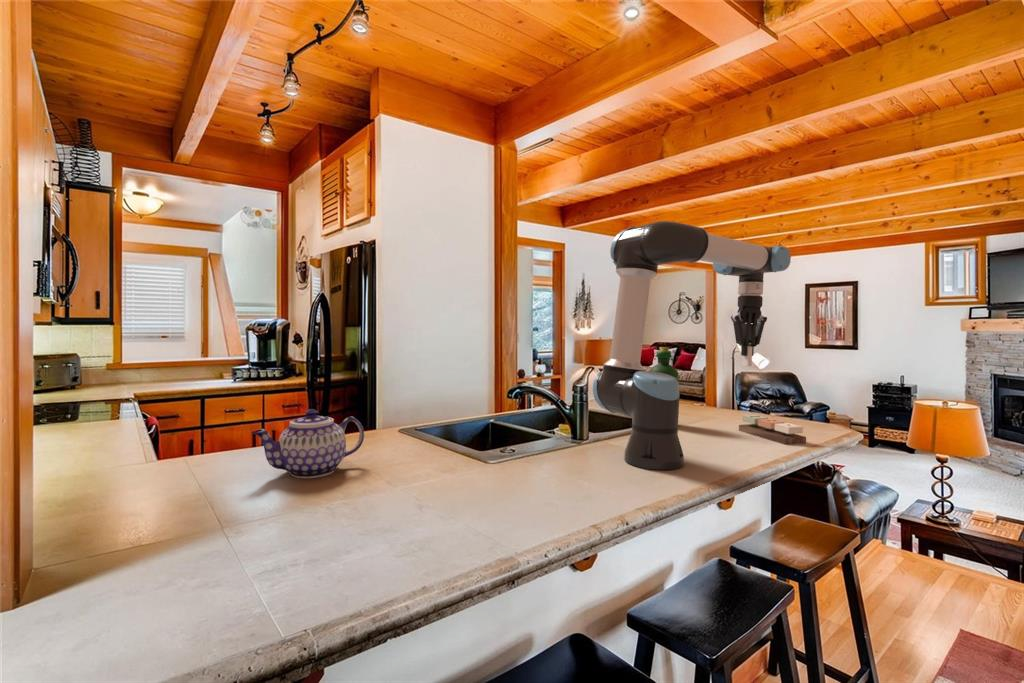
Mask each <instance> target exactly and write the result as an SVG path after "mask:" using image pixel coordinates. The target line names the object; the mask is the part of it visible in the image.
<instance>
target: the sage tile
mask: <svg viewBox="0 0 1024 683" xmlns="http://www.w3.org/2000/svg"><path fill="white" fill-rule="evenodd" d="M759 419H769V418H768V417H765V416H761V415H758V414H747V415H745V414H744V415H742V422H743V423H747V424H752V427H758V420H759Z"/></svg>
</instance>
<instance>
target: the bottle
mask: <svg viewBox="0 0 1024 683" xmlns="http://www.w3.org/2000/svg"><path fill="white" fill-rule="evenodd" d="M655 357H656V358H657V364H655V365H653V366H652V367H651V368H650V369H649V371H652V372H657V373H658V372H659V373H664V374H667V375H670V376H673V377H674V378H676V379H677V381H678V382H679V374H680V373H679V371H678V370H677V368H676V367H674V366H673V365H671V364H670V361H671V358H672V351H670V350H669V346H668V347H667V346H660V347H659V350H657V351H656V356H655Z"/></svg>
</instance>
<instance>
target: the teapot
mask: <svg viewBox="0 0 1024 683" xmlns="http://www.w3.org/2000/svg"><path fill="white" fill-rule="evenodd" d="M317 414H318V410H316V409H314V408H309V409H307V410H306V411H305V415H306V416H303V417H298V418H297V417H296V418H294V419H291V420H289V425H288V427H286V429H284V430H283V431H282V433H281V434H280V435H279V439H278V440H277V441H275V440H274V439H273V437H272V436H271V435H270V433H269V432H268V431H267V430H266V429H264V428H261V429H257V430H254V431H253V435H256V436H258V437H260V439H261V442H262V446H263V449H264V454H265V459H266V460H267V463H268V465H270V467H272V468H275V469H277V470H283V471H287V472H288V473H289V474H290V475H291V476H292V477H294V478H298V479H315V478H321V477H325V476H328V475H331V474H332V473H334V472H335V470H336V469H337V467H338V466H339V465H340V463H341V462H342V461H343V459H344V458H346V457H348V456H351V455H352V454H354V453H356V452H357V451H358V450H359V449H360V448H361V446H362V444H363V443H364V439H365V431H364V427H363V425H362V423H361V422H360V421H359V420H358V418H355V417H354V416H348V417H346V418H345V419H344V420H343V421H342V422H341V423H339V424H337V423H335V422H334V421H335V419H334V418H332V417H329V416H323V415H317ZM350 422H353V423H355V425H356V426H357V429H358V431H359V438H358V441H356V442H357V443H355V445H354V446H353V447H352V448H350V449H346V448H347V440H346V434H345V430H346V428H347V425H348V424H349V423H350Z"/></svg>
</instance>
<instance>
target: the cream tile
mask: <svg viewBox="0 0 1024 683" xmlns="http://www.w3.org/2000/svg"><path fill="white" fill-rule="evenodd" d="M803 428H804V426H802V425H797V424H794V423H790V422H785V423H780V424H775V429H774V430H776V431H780V432H783V433H785V436H788V437H791V435H792V434H803V431H804V429H803Z"/></svg>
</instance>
